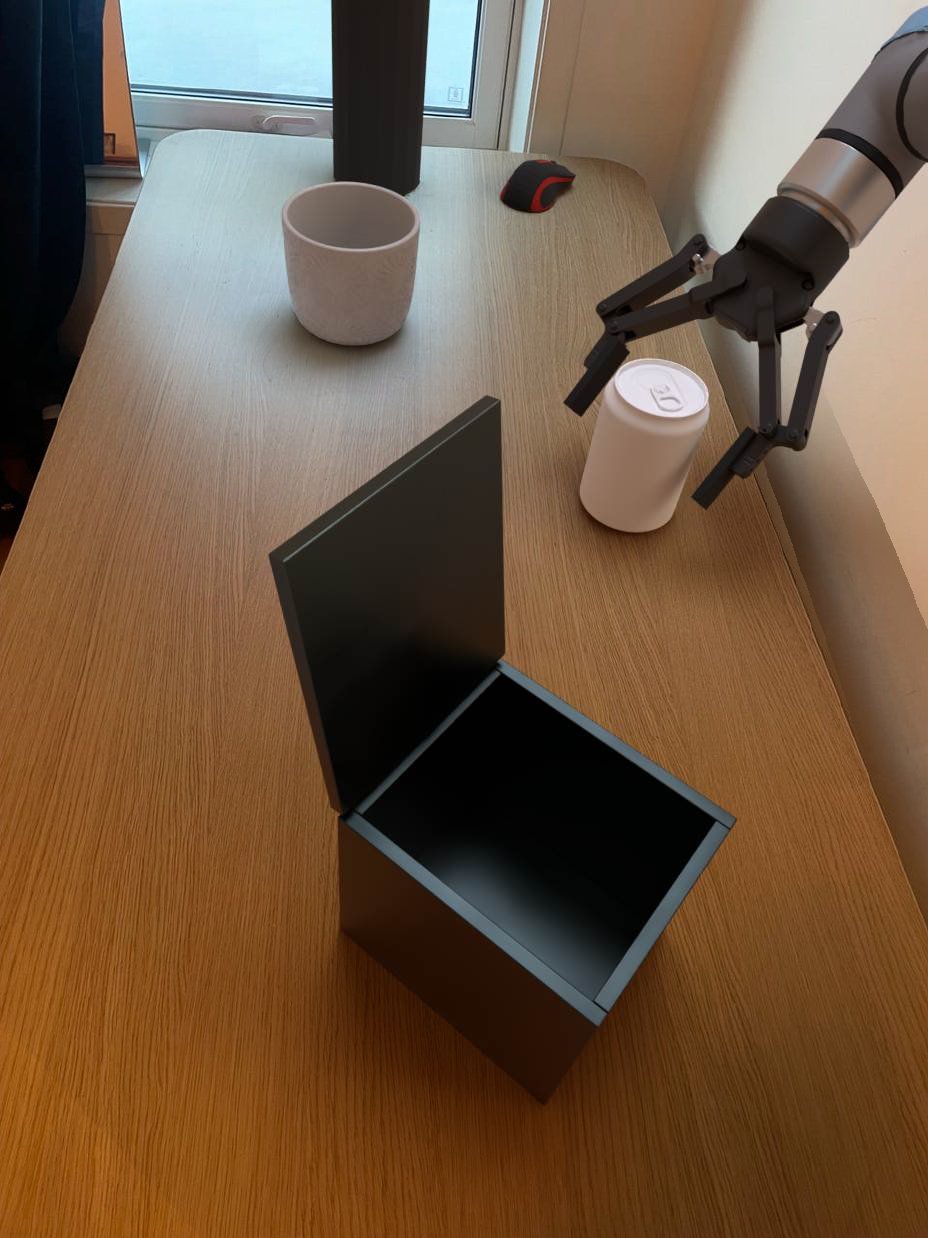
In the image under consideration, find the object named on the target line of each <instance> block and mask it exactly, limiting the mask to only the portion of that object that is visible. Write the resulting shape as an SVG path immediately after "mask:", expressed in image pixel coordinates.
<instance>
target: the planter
mask: <svg viewBox="0 0 928 1238" xmlns="http://www.w3.org/2000/svg"><path fill="white" fill-rule="evenodd" d="M280 217H281V218H280V219H281V227H282V228H281V229H282V238H283V249H284V259H285V260H284V261H285V269H286V278H287V286H288V291H289V296H290V302H291V305H292V309H293V311H294V314H295V316H296V318H297V319H298V321H299V323H300V324H301V325H302V326H303V327H304V328H305V329H306V330H307V331H308V332H310V333H311V334H313V335H314V336H316V337H318V338H319V339H321V340H324V341H326V342H329V343H333V344H338V345H341V346H342V345H343V346H366V345H367V346H368V345H372V344H376V343H378V342H382V341H384V340H386V339H388V338H390V337H391V336H393V335H395V334H396V333H397V332H398V331H399V330H400V329H401V328H402V327H403V325H404V324H405V322H406V320H407V318H408V316H409V313H410V310H411V305H412V301H413V296H414V290H415V289H414V288H415V282H416V272H417V262H418V250H419V243H420V231H421V216H420V213H419V211H418V210H417V208H416V207H415V205H414V204H413V203H412V202H411V201H410V200H408V199H407V198H406V197H404V195H402V196H401V195H399V194H397V193H395V192H393V191H391V190H388V189H386V188H383V187H379V186H376V185H371V184H366V183H359V182H337V181H331V182H322V183H318V184H314V185H310V186H308V187H305V188H302V189H300V190H299V191H297V192H295V193H294V194H292V195H291V196H290V197H288V198H287V200H285V202H284V204H283V205H282V208H281V214H280Z"/></svg>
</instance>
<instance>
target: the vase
mask: <svg viewBox="0 0 928 1238" xmlns="http://www.w3.org/2000/svg"><path fill="white" fill-rule="evenodd" d="M430 7H431V0H330V20H331V21H330V22H331V23H330V24H331V27H330V28H331V29H330V30H331V32H330V33H331V87H332V88H331V91H332V92H331V96H332V101H331V102H332V106H331V107H332V168H333V169H332V170H333V171H332V172H333V179H334V180H335V182H359V183H366V184H371V185H376V186H379V187H383V188H386V189H388V190H391V191H393V192H395V193H397V194H399V195H401V196H405V195H406V194H409V193H411V192H413V191H415V189H416V188H417V187H418V186H419V184H420V183H421V182H420V181H421V165H422V150H423V149H422V147H423V146H422V145H423V131H424V130H423V128H424V115H425V113H424V111H425V97H426V95H425V94H426V79H427V60H428V59H427V58H428V42H429V26H430Z"/></svg>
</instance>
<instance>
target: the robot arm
mask: <svg viewBox="0 0 928 1238" xmlns="http://www.w3.org/2000/svg"><path fill="white" fill-rule="evenodd" d="M926 164H928V5H925V6H923V7H921V8H919V9H917V10H915V11H914V12H913V13H911V14H910V15H909V16H908V17H907V19H905V21H904V22H903V23H902V24H901V25H900V26H899V28H898V29H897V30H896V31H895V32H894V33H893V35H892V36H891V37H890V38H888V40H886V41H885V42H884V43H883V44H882V45H881V46H880V48H879V49H878V50H877V52H875V54H874V56H873V58H872V60H871V61H870V64H869V65H868V66H867V68H866V69H865V71H864V72H863V73H862V74H861V76H860V77H859V78H858V79H857V81H856V82H855V84H854V85H853V87H852V88H851V90H849V92H848V93H847V95H846V96H845V97H844V99H843V100H842V101H841V103H840V104H839V105H838V107H837V108H836V109H835V110H834V111H833V113H832V115H831V116H830V118H829V119H828V120H827V122H826V123H825V124H824V126H823V127H822V128H821V130H820V131H819V133H817V135H816V136H815V137H814V139H813V140H812V142H811V143H810V144H809V146H808V147H806V149H805V151H804V152H803V153H802V154H801V156H800V157H799V158H798V159H797V161H796V162H795V163H794V164H793V165H792V167H791V169H789V171H788V172H787V173H786V175H785V176H784V177H783V179H782V180H781V181H780V182H779V183H778V185H777V187H776V196H772V197H769V198H767V200H766V201H765V202H764V203H763V205H762V206H761V208H760V209H759V210H758V212H757V213H756V214H755V216H754V217H753V218H752V219H751V221H750V222H749V224H748V225H747V226H746V228H745V229H744V230H743V231H742V233H741V235H740V236H739V238H738V239H737V242H736V243H735V245H734V246H733V247H732V248H731V249H730V250H728V251H727V252H724V253H723V254H722V253H720V252H719V251H718V250H717V249H715V247H713V246H712V245H710V243H709V242H708V240H707V237H706V235H704V234H703V233H697V234H694V235H692V237H691V238H690V240H688V241H687V243H685V245H684V246H683V247H682V248H681V249H680V250H679V251H678V252H677V253H676V254H675V255H673V256H671V257H670V258H669V259H667V260H666V261H664V262H662V263H661V264H659V265H657V266H655V267H654V268H652V269H650V270H649V271H647V272H646V273H645V274H643V275H641V276H640V277H638V278H636V279H635V280H633V281H631V282H630V283H628V284H626V285H625V286H624V287H622V288H620V289H619V290H616V291H615V292H614V293H612V294H610V295H609V296H608V297H606V298H604V299H602V300H601V301H600V302H599V303H597V304H596V306H595V313H596V314H597V316H598V317H599V318H600V320H601V321H602V323H603V325H604V332H603V334H602V335H601V337H600V338H599V339H598V340H597V342H596V343H595V344H594V346H593V347H592V349H590V351H589V353H588V354H587V355H586V356H585V357H584V360H583V364H582V366H583V367H584V368H586V369H587V370H586V371H585V372H584V374H583V375H581V377H580V379H579V380H578V382H577V383H576V384H575V386H574V387H573V388H572V390H571V391H570V393H569V394H568V395H567V396H566V398H565V399H564V401H563V404H564V405H565V406H566V407H568V409H570V411H572V412H573V413H574V414H575V415H577V416H578V417H580V418H582V417H583V416H584V414H585V413H586V412H587V411H588V410H589V408H590V406H591V405H593V403H594V401H595V400H596V399H597V397H598V396H599V394H601V392H602V391H603V389H605V388H606V386H607V384H608V383H609V381H610V380H611V379H612V378H613V377H614V376H615V374H616V373H617V371H618V370H619V369H620V368H621V366H622V364H623V363H624V362H625V360H626V359H627V357H628V356H629V355H630V353H631V351H630V349H628V345H627V344H628V343H631V342H634V341H636V340H639V339H643V338H646V337H649V336H652V335H654V334H657V333H660V332H661V333H662V332H663V331H666V330H669V329H672V328H676V327H679V326H682V325H684V324H688V323H691V322H693V321H696V320H701V321H704V320H708V319H712V318H715V320H716V322H717V325H720V326H721V327H723V328H725V329H726V330H730V331H734V332H736V333H737V334H738V335H739V337H740V338H741V339H742V340H744V341H745V342H747V343H749V344H751V342H754V343H755V342H756V343H757V348H758V400H759V401H758V419H759V422H758V423H759V424H758V425H759V426H757V430H758V431H756V430H754V429H753V428H751V427H750V426H748V425H746V427H745V428H744V429H743V430H742V432H741V433H740V434H739V436H738V437H737V438H736V439H735V441H734V442H733V443H732V444H731V445H730V447H729V448H728V450H727V451H726V452H725V453H724V454H723V456H722V457H721V458H720V460H718V462H717V463H716V464H715V466H713V468H712V469H711V470H710V472H709V473H708V474H707V476H706V477H705V478H704V479H703V480H702V481H701V483H700V485H699V486H697V488H696V489H695V491H694V492H693V493H692V494H691V496H690V498H691V499H692V500H693V501H694V502H696V503H697V505H699V506H700V507H701V508H703V509H704V510H706V511H708V509H709V508H710V507H711V506H712V504H713V503H714V502H715V500H716V499H717V498H718V497H719V496H720V495H721V493H723V491H724V490H725V488H727V486H728V485H729V483H730V482H731V481H732V480H733V479H734V477H735V476H737V477H738V478H740V480H746V479H748V478H750V476H752V474H753V473H754V472H755V470H756V469H757V468H758V467H759V465H760V464H761V463H762V462H763V461H764V459H765V458H766V457H767V455H768V454H770V452H771V451H772V450H773V449H775V448H777V447H783V448H787V449H791V450H792V451H794V452H802V451H803V450H805V449H806V448H807V445H808V441H809V438H810V433H811V429H812V425H813V420H814V418H815V417H814V416H815V412H816V408H817V405H818V400H819V397H820V392H821V387H822V384H823V380H824V379H823V378H824V375H825V373H826V372H825V371H826V367H827V363H828V359H829V356H830V353H831V352H832V351H833V349H834V347H835V346H836V344H837V343H838V341H839V339H840V338H841V337H842V335H843V332H844V328H843V324H842V319H841V318H840V317H841V316H840V315H839V313H838V312H837V311H835V310H828V311H826V312H824V311H822V310H819V309H817V308H815V307H814V303H815V301H816V300H817V299H818V298H819V297H820V295H822V294H823V293H824V291H825V290H826V288H827V287H828V286H829V285H830V283H831V282H832V281H833V280H834V279H835V277H836V276H837V275H838V274H839V272H840V271H841V270H842V269H843V267H844V266H845V265H846V264H847V262H848V261H849V259H850V252H851V251H850V250H853V249H856V248H859V246H860V245H862V243H863V241H864V240H865V239H866V238H867V236H868V235H869V234H870V233H871V232H872V230H873V229H874V227H876V225H877V224H878V222H879V221H880V220H881V219H882V217H883V216H884V215H885V214H886V212H887V211H888V210H889V209H890V207H891V206H892V205H893V204H894V203H895V201H896V200H898V197H899V196H900V195H901V193H903V191H904V190H905V189H906V188H907V186H908V185H909V184H910V183H911V181H912V180H913V179H914V178H915V177H916V175H917V174H918V173H919V172H920V171H921V169H922V168H923V167H924V166H925V165H926ZM709 270H712V275H711V280H710V281H707V282H704V283H701V284H699V285H696V286H693V287H691V288H690V289H689V290H688V291H687V292H686V293H682V294H679V295H676V296H674V297H671V298H667V299H665V300H662V301H660V302H659V301H658V300H660V299H661V298H663V297H665V296H667V295H669V294H670V293H671V292H674V291H675V290H676V289H678V288H680V287H681V286H683V285H685V284H686V283H688V282H689V281H690V280H692V279H693V278H695V276H697V275H704V274H706V272H707V271H709ZM657 301H658V302H657ZM655 302H657V303H655ZM653 303H654V304H653ZM804 324H805V325H806V328H805V336H806V339H807V344H806V346H805V350H804V354H803V358H802V363H801V367H800V371H799V375H798V380H797V383H796V386H795V387H796V388H795V392H794V395H793V401H792V404H791V408H790V412H789V416H788V421H787V424H786V425H783V423H782V419H783V418H782V356H783V355H782V354H783V351H782V350H783V348H782V345H783V343H782V341H783V340H782V334H783V333H785V332H788V331H791V330H793V329H796V328H799V327H801V326H803V325H804Z"/></svg>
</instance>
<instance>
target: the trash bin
mask: <svg viewBox="0 0 928 1238" xmlns="http://www.w3.org/2000/svg"><path fill="white" fill-rule="evenodd" d="M737 821H738V817H736V816H734V815H733V814H731V813H730V812H728V811H727V810H725V809H724V808H722V807H721V806H719V805H718V804H717V803H715V802H714V801H712V800H711V799H710V798H708V797H707V796H705V795H703V794H702V793H701V792H699V791H698V790H696V789H695V788H694V787H692V786H690V785H688V784H687V783H686V782H684V781H683V780H681V779H680V778H678V777H677V776H676V775H674V774H673V773H671V772H669V771H668V770H667V769H665V768H664V767H662V766H660V765H659V764H657V762H655V761H653V760H652V759H650V758H649V757H648V756H647V755H645V754H643V753H642V752H640V751H638V750H637V749H636V748H634V747H633V746H631V745H630V744H628V743H627V742H625V741H624V740H623V739H621V738H620V737H618V736H616V735H615V734H614V733H612V732H611V731H610V730H608V729H606V727H605V728H604V726H602V725H600V724H599V723H597V722H596V721H594V719H591V718H590V717H588V716H587V715H586V714H584V713H582V712H581V711H580V710H578V709H577V708H575V707H574V706H572V705H571V704H569V703H568V702H566V701H565V700H564V699H562V698H561V697H559V696H558V695H556V694H554V693H553V692H552V691H550V690H549V689H547V688H546V687H544V686H543V685H542V684H540V683H539V682H537V681H535V680H534V679H532V678H531V677H529V676H528V675H526V674H525V673H523V672H522V671H521V670H520V669H518V668H516V667H515V666H513V665H512V664H511V663H509V662H507V661H506V660H504V659H503V658H501V659H500V660H499V661H498V662H497V663H496V664H495V665H494V666H493V667H492V668H491V669H490V670H489V671H488V672H487V673H486V674H485V675H484V676H483V677H482V678H481V679H480V680H479V681H478V682H477V683H476V684H475V685H474V686H473V687H472V688H471V689H470V690H469V691H468V692H467V693H466V694H465V695H464V696H463V697H462V698H461V699H460V700H459V701H458V702H457V703H456V704H455V705H454V706H453V707H452V708H451V709H450V710H449V711H448V712H447V713H446V714H445V715H444V716H443V717H442V718H441V719H440V720H439V721H438V722H437V723H436V724H435V725H434V726H433V727H432V728H431V729H430V730H429V731H428V732H427V733H426V734H425V735H424V736H423V737H422V738H420V739H419V740H418V741H417V742H416V743H415V744H414V745H413V746H412V747H411V748H410V749H409V750H408V751H407V752H406V753H405V754H404V755H403V756H402V757H401V758H400V759H399V760H398V761H397V762H396V763H395V764H394V765H393V766H392V767H391V768H390V769H389V770H388V771H387V772H386V773H385V774H384V775H383V776H382V777H381V778H380V779H379V780H378V781H377V782H376V783H375V784H374V785H373V786H372V787H371V788H370V789H369V790H368V791H367V792H366V793H365V794H364V795H363V796H362V797H361V798H360V799H359V800H358V801H357V802H356V803H355V804H354V805H353V806H352V807H351V808H350V809H349V810H348V811H347V812H346V813H345V814H344V815H341V814H339V815H338V816H337V854H338V855H337V860H338V863H337V864H338V906H339V909H338V911H339V930H340V931H341V932H342V933H343V934H344V935H346V936H347V937H348V938H349V939H350V940H352V942H354V943H355V944H356V945H357V946H358V947H360V948H361V949H362V950H363V951H364V952H365V953H367V954H368V955H369V956H370V957H371V958H372V959H373V960H375V961H376V962H377V963H378V964H379V965H381V966H382V967H383V968H384V969H385V970H386V971H387V972H388V973H390V974H391V975H392V976H393V977H395V979H396V980H398V981H399V982H400V983H401V984H403V985H404V986H405V987H406V988H407V989H408V990H409V991H411V992H412V993H413V994H415V996H416V997H418V998H419V999H420V1000H421V1001H422V1003H423V1002H424V1004H425V1005H427V1006H428V1007H429V1008H430V1009H431V1010H433V1011H434V1012H435V1013H436V1014H437V1015H438V1016H440V1017H441V1018H442V1019H443V1020H444V1021H445V1022H447V1023H448V1024H449V1025H450V1026H451V1027H452V1028H454V1030H455V1031H457V1032H458V1033H459V1034H461V1036H463V1037H464V1038H465V1039H466V1040H467V1041H469V1042H470V1043H471V1044H472V1045H473V1046H474V1047H476V1048H477V1049H478V1051H480V1052H481V1053H483V1054H484V1055H485V1056H486V1057H487V1058H488V1059H489V1060H491V1061H492V1062H493V1063H494V1064H495V1066H497V1067H499V1068H500V1069H501V1070H502V1071H504V1072H505V1074H507V1075H508V1076H509V1077H510V1078H511V1079H512V1080H514V1081H515V1082H516V1083H517V1084H518V1085H519V1086H521V1087H522V1088H523V1089H525V1091H526V1092H528V1094H530V1095H531V1096H532V1097H533V1098H534V1099H536V1100H537V1101H538V1102H539V1103H541V1105H543V1106H544V1107H545V1106H546V1105H547V1104H548V1102H549V1101H550V1099H551V1098H552V1096H553V1095H554V1094H555V1092H556V1090H557V1089H558V1088H559V1086H560V1085H561V1084H562V1082H563V1080H564V1079H565V1078H566V1077H567V1075H568V1073H569V1072H570V1070H571V1069H572V1068H573V1066H574V1065H575V1063H576V1062H577V1060H578V1059H579V1057H580V1056H581V1055H582V1053H583V1052H584V1051H585V1049H586V1048H587V1046H588V1045H589V1043H590V1042H591V1040H592V1039H593V1037H594V1036H595V1035H596V1033H597V1031H598V1030H599V1029H600V1027H601V1026H602V1024H603V1023H604V1022H605V1020H606V1019H607V1016H608V1015H609V1014H610V1012H612V1009H613V1007H615V1005H616V1003H617V1002H618V1000H619V999H620V997H621V996H622V995H623V993H624V991H625V989H626V988H627V987H628V985H629V984H630V982H631V981H632V979H633V978H634V976H635V975H636V973H637V972H638V970H639V969H640V968H641V965H642V964H643V963H644V961H645V959H647V957H648V955H649V954H650V952H651V951H652V949H653V948H654V946H655V945H656V943H657V942H658V940H659V939H660V937H661V936H662V935H663V933H664V931H665V930H666V928H667V927H668V925H669V923H670V922H671V921H672V919H673V918H674V917H675V914H676V913H677V911H678V910H679V909H680V907H681V906H682V904H683V903H684V901H685V900H686V898H687V896H688V895H689V894H690V892H691V891H692V889H693V887H694V886H695V885H696V883H697V881H698V880H699V879H700V877H701V875H702V874H703V873H704V871H705V870H706V868H707V866H708V865H709V864H710V862H711V861H712V859H713V858H714V856H715V855H716V853H717V852H718V851H719V848H720V847H721V845H722V844H723V843H724V841H725V840H726V839H727V837H728V835H729V834H730V832H731V831H732V829H733V828H734V827H735V825H736V823H737Z"/></svg>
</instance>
